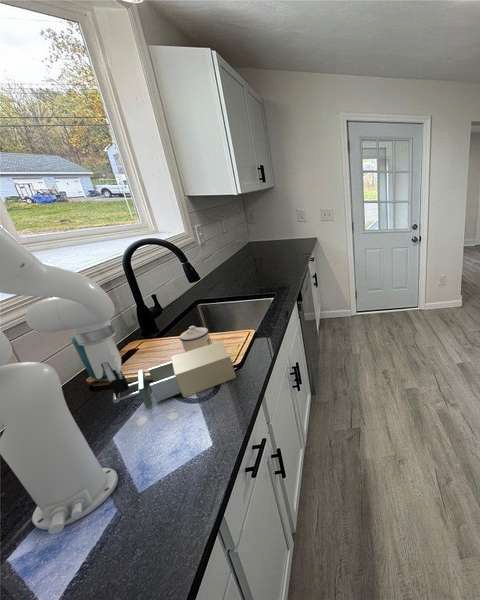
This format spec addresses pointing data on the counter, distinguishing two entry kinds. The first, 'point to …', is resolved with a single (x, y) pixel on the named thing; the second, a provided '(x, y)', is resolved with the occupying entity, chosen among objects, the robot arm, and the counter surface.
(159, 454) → the counter surface
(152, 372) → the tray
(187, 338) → the teacup with lid
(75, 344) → the beverage bottle
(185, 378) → the drawer cabinet
